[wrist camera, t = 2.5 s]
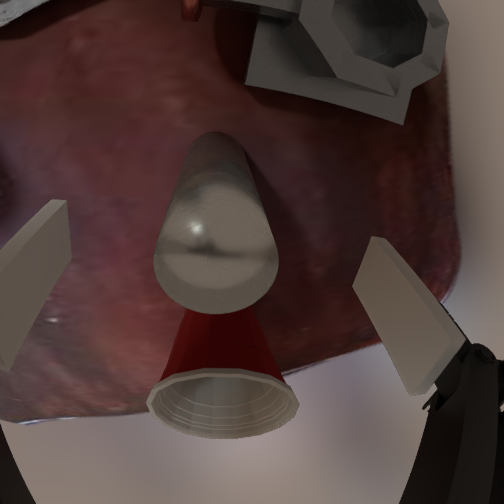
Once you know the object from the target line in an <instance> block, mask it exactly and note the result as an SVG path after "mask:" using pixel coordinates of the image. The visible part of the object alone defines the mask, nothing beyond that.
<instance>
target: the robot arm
mask: <svg viewBox="0 0 504 504" xmlns="http://www.w3.org/2000/svg"><path fill="white" fill-rule="evenodd" d="M71 259H72V252H71V244H70V234H69V223H68V209H67V201H66V200H51V201H49V202H48V203H47V204H46V205H45V206H44V207H43V208H42V209H41V210H40V211H39V212H38V213H37V214H35V215H34V216H33V217H32V218H31V219H30V220H29V221H28V222H27V223H26V224H25V225H24V226H23V227H22V228H21V229H20V230H19V231H18V232H17V233H16V234H15V235H14V236H13V237H12V238H11V239H10V240H9V242H8V243H7V244H6V245H5V246H4V247H3V248H2V249H1V250H0V369H1V370H4V371H7V372H9V371H10V369H11V367H12V365H13V363H14V361H15V358H16V356H17V354H18V352H19V350H20V348H21V346H22V344H23V342H24V340H25V338H26V336H27V334H28V332H29V331H30V329H31V327H32V325H33V323H34V321H35V319H36V317H37V316H38V314H39V312H40V310H41V308H42V307H43V305H44V303H45V301H46V300H47V298H48V296H49V295H50V293H51V291H52V290H53V288H54V286H55V285H56V283H57V281H58V280H59V278H60V276H61V275H62V273H63V272H64V270H65V268H66V267H67V265H68V264H69V262H70V261H71ZM352 287H353V289H354V291H355V292H356V294H357V296H358V298H359V299H360V301H361V303H362V305H363V307H364V308H365V310H366V312H367V314H368V316H369V318H370V319H371V321H372V323H373V325H374V327H375V329H376V331H377V333H378V334H379V336H380V338H381V340H382V342H383V344H384V346H385V348H386V350H387V351H388V354H389V356H390V357H391V359H392V361H393V363H394V365H395V367H396V369H397V371H398V373H399V375H400V377H401V379H402V381H403V383H404V385H405V388H406V390H407V392H408V394H409V396H416V395H421V394H425V393H426V392H427V391H428V390H429V389H430V387H431V386H432V385H433V384H434V383H435V385H436V387H437V388H438V389H437V390H436V392H435V393H434V394H433V395H432V396H431V397H430V399H429V400H428V401H427V402H426V403H425V404H424V406H423V407H422V409H423V410H424V409H425V408H426V407H427V406H428V405H430V409H429V410H428V412H429V413H428V417H427V421H426V425H425V429H424V432H423V436H422V439H421V443H420V446H419V449H418V452H417V456H416V459H415V462H414V465H413V468H412V471H411V473H410V476H409V479H408V482H407V485H406V487H405V490H404V492H403V495H402V497H401V500H400V502H399V504H504V411H503V412H501V409H500V407H501V406H502V405H503V403H504V360H503V361H502V360H497V359H496V357H495V356H494V354H493V353H492V352H491V351H490V350H489V349H488V348H487V347H485V346H484V345H481V344H479V343H474V344H471V343H470V341H469V340H468V338H467V337H466V335H465V334H464V333H463V331H462V330H461V329H460V327H459V326H458V324H457V323H456V322H455V321H454V319H453V318H452V316H451V315H450V314H449V312H448V311H447V310H446V309H445V308H444V306H443V305H442V304H441V303H440V302H439V301H438V300H437V299H436V298H435V297H434V296H433V295H432V293H431V292H430V291H429V289H428V288H427V287H426V286H425V285H424V283H423V282H422V281H421V280H420V278H419V277H418V276H417V275H416V273H415V272H414V271H413V270H412V269H411V267H410V266H409V265H408V264H407V263H406V262H405V260H404V259H403V258H402V257H401V256H400V255H399V253H398V252H397V251H396V250H395V249H394V248H393V246H392V245H391V244H390V243H389V242H388V241H387V240H386V239H385V238H380V237H374V236H371V239H370V242H369V244H368V247H367V250H366V252H365V255H364V258H363V260H362V263H361V265H360V268H359V270H358V273H357V275H356V278H355V280H354V283H353V285H352ZM0 504H36V503H35V501H34V499H33V497H32V495H31V494H30V491H29V490H28V488H27V486H26V484H25V482H24V480H23V477H22V475H21V473H20V471H19V469H18V467H17V465H16V462H15V460H14V458H13V455H12V453H11V451H10V448H9V446H8V443H7V441H6V438H5V436H4V433H3V431H2V428H1V424H0Z"/></svg>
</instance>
